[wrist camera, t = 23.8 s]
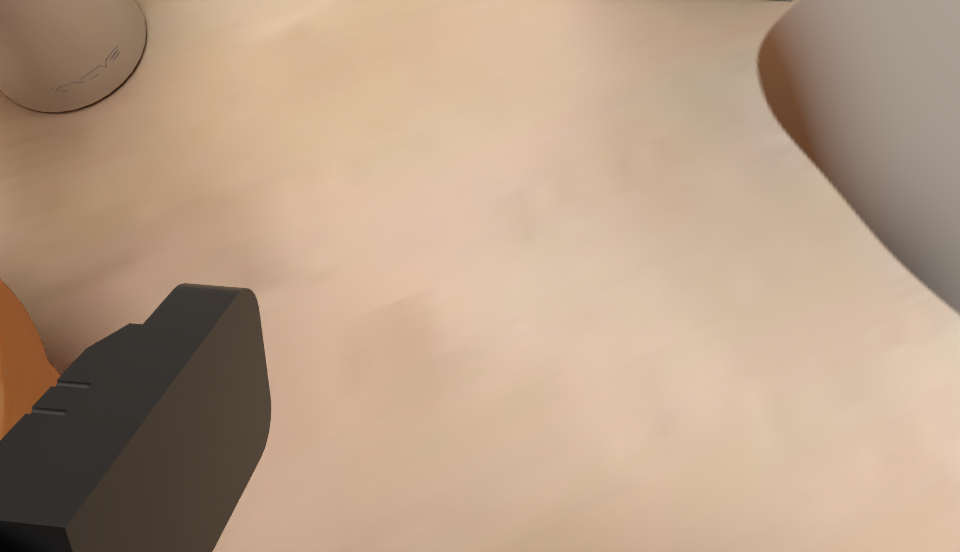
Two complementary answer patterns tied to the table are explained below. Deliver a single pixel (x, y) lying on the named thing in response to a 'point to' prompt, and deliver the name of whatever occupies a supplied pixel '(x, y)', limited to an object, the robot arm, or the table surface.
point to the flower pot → (20, 362)
